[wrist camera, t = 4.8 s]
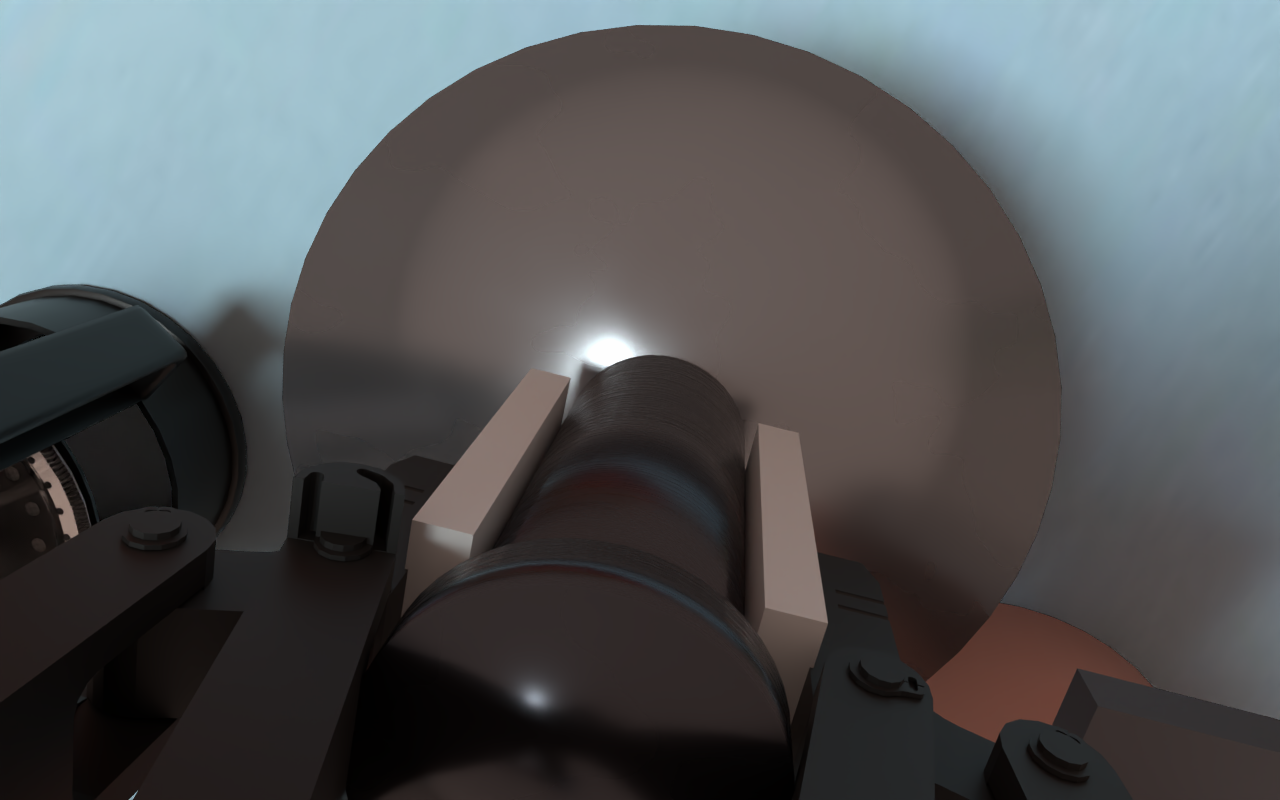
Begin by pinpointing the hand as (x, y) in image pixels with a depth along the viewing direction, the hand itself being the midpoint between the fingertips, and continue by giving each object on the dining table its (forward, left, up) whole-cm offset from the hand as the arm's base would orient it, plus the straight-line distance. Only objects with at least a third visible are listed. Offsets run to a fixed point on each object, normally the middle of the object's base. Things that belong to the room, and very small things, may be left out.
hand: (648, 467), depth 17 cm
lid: (0, 0, -4) cm, 4 cm away
